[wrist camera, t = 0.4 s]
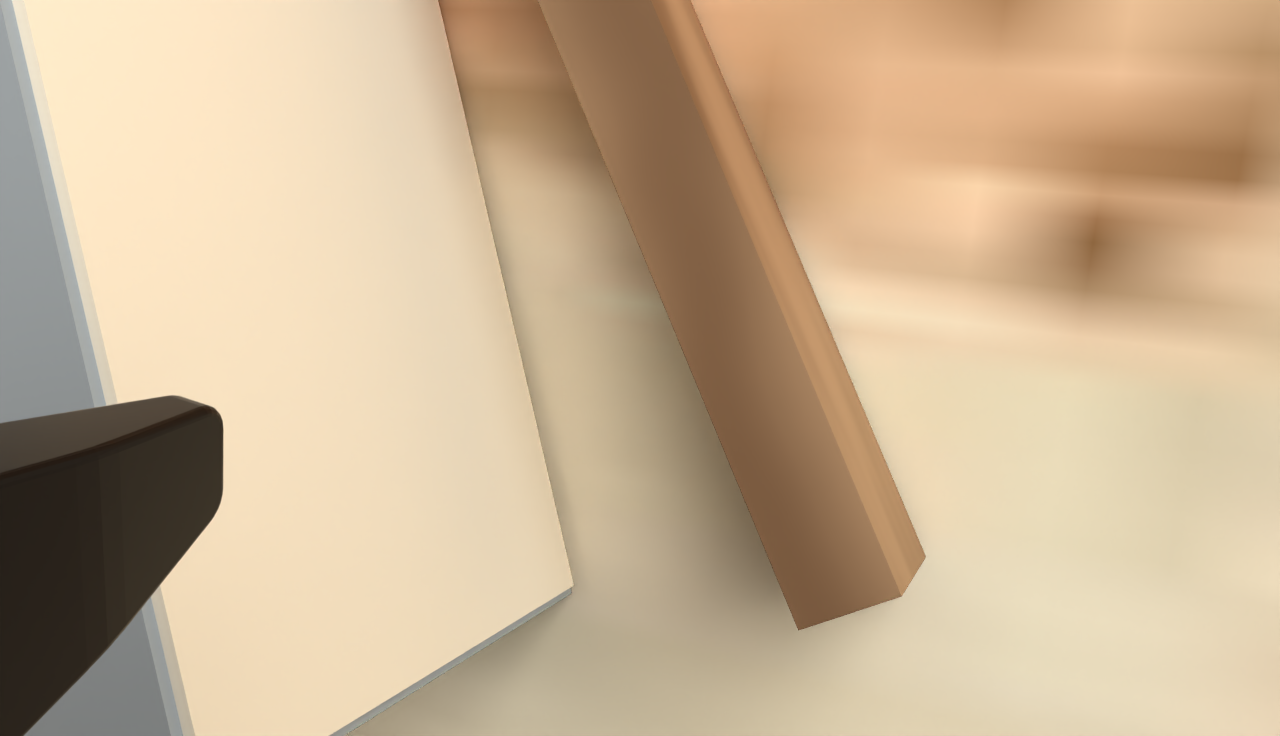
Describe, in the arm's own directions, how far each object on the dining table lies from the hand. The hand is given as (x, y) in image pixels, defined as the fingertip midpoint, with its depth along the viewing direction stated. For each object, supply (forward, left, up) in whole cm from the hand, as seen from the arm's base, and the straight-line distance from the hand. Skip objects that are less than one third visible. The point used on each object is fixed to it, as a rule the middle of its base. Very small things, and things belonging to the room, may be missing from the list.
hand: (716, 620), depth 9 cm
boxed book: (-10, +7, -15) cm, 20 cm away
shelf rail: (-3, +12, -15) cm, 20 cm away
